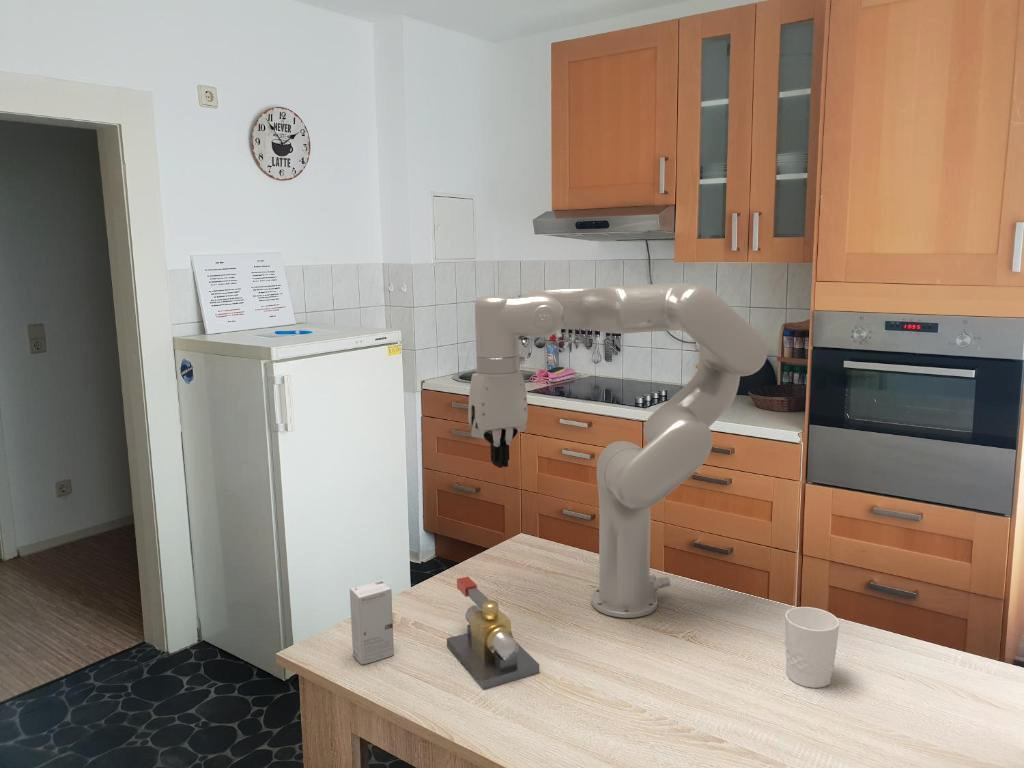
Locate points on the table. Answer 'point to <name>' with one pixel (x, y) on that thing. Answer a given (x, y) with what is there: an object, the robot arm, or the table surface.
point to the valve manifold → (491, 650)
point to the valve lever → (478, 597)
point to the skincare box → (371, 622)
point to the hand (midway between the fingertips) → (500, 465)
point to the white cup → (810, 645)
